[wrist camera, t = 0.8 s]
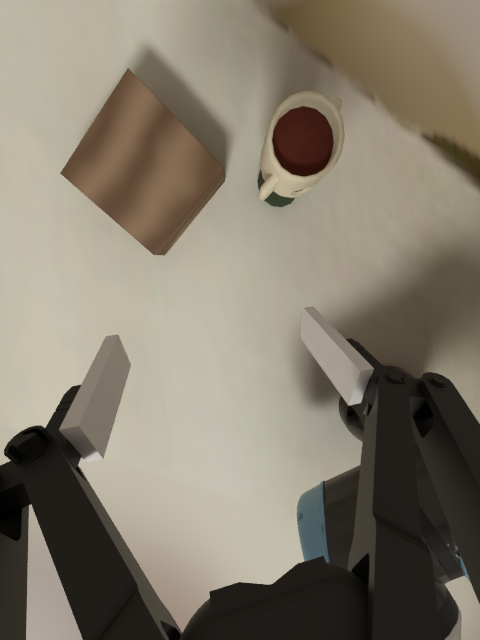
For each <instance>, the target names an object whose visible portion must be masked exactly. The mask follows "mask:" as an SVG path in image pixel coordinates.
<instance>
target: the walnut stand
mask: <svg viewBox="0 0 480 640" xmlns="http://www.w3.org/2000/svg"><path fill="white" fill-rule="evenodd" d="M60 174H62V175H63V176H64V177H65V178H66V179H67V180H69V181H70V182H71V183H72V184H73V185H74V186H75V187H77V188H78V189H79V190H80V191H81V192H82V193H83V194H85V195H86V196H87V197H88V198H89V199H90V200H91V201H93V202H94V203H95V204H96V205H97V206H98V207H99V208H101V209H102V210H103V211H104V212H105V213H106V214H108V215H109V216H110V217H111V218H112V219H113V220H114V221H116V222H117V223H118V224H119V225H120V226H121V227H122V228H124V229H125V230H126V231H127V232H128V233H129V234H130V235H132V236H133V237H134V238H135V239H136V240H137V241H139V242H140V243H141V244H142V245H143V246H144V247H145V248H147V249H148V250H149V251H150V252H151V253H152V254H153V255H165V254H166V253H167V252H168V251H169V250H170V248H171V247H172V246H173V245H174V243H175V242H176V241H177V240H178V238H179V237H180V236H181V235H182V233H183V232H184V231H185V230H186V228H187V227H188V226H189V225H190V224H191V222H192V221H193V220H194V219H195V217H196V216H197V215H198V214H199V212H200V211H201V210H202V209H203V207H204V206H205V205H206V204H207V202H208V201H209V200H210V199H211V197H212V196H213V195H214V194H215V193H216V191H217V190H218V189H219V188H220V186H221V185H222V184H223V183H224V181H225V177H224V169H223V166H222V165H221V164H220V163H219V162H218V161H217V160H216V159H215V158H214V157H213V156H212V155H211V154H210V153H209V152H208V151H207V150H206V149H205V148H204V147H203V145H202V144H201V143H200V142H199V141H198V140H197V139H196V138H195V137H194V136H193V135H192V134H191V133H190V132H189V131H188V130H187V129H186V128H185V127H184V126H183V125H182V124H181V123H180V122H179V120H178V119H177V118H176V117H175V116H174V115H173V114H172V113H171V112H170V111H169V110H168V109H167V108H166V107H165V106H164V105H163V104H162V103H161V102H160V101H159V100H158V99H157V98H156V97H155V95H154V94H153V93H152V92H151V91H150V90H149V89H148V88H147V87H146V86H145V85H144V84H143V83H142V82H141V81H140V80H139V79H138V78H137V77H136V76H135V75H134V74H133V73H132V72H131V70H130V69H129V68H128V69H127V71H126V72H125V74H124V75H123V77H122V78H121V80H120V82H119V83H118V85H117V86H116V88H115V89H114V91H113V92H112V94H111V95H110V97H109V99H108V100H107V102H106V103H105V105H104V106H103V108H102V109H101V111H100V113H99V114H98V116H97V117H96V119H95V120H94V122H93V123H92V125H91V126H90V128H89V130H88V131H87V133H86V134H85V136H84V137H83V139H82V140H81V142H80V144H79V145H78V147H77V148H76V150H75V151H74V153H73V154H72V156H71V157H70V159H69V161H68V162H67V164H66V165H65V167H64V168H63V170H62V171H61V173H60Z"/></svg>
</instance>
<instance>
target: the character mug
mask: <svg viewBox="0 0 480 640" xmlns="http://www.w3.org/2000/svg"><path fill="white" fill-rule="evenodd" d="M341 106H342V101H341V99H336V100H334V101H332V100H331V99H329V98H328V97H327V96H326V95H324V94H323V93H319V92H314V91H310V90H306V91H302V92H298V93H294V94H291V95H290V96H289V97H288V98H287V99H285V100H284V101H283V102H282V103H281V104H279V105H278V107H277V109H276V111H275V113H274V115H273V117H272V118H271V120H270V122H269V125H268V129H267V133H266V137H265V141H264V145H263V149H262V154H261V161H260V167H261V171H260V174H259V178H258V187H259V193H258V198H259V200H261V201H263V200H265V201H266V202H267V203H269V204H270V205H272V206H277V207H283V206H285V205H288V204H291V202H292V201H293V200H294V198H295V197H297V196H301V195H303V194H304V193H306V192H307V191H309V190H310V189H311V188H312V187H314V186H315V185H316V184H317V183H318V182H319V181H320V180H321V179H322V178H323V177H324V176H325V175H326V174H327V173H328V172H329V171H330V170H331V169H332V168H333V167H334V165H335V164H336V163H337V161H338V159H339V156H340V154H341V152H342V147H343V142H344V137H345V135H344V126H343V118H342V116H341V114H340V112H339V111H340V109H341Z"/></svg>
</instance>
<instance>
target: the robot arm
mask: <svg viewBox="0 0 480 640" xmlns="http://www.w3.org/2000/svg"><path fill="white" fill-rule="evenodd" d="M300 338H301V340H302V341H303V342H304V344H305V345H306V347H307V348H308V349H309V351H310V352H311V354H312V355H313V356H314V358H315V359H316V361H317V362H318V364H319V365H320V366H321V368H322V369H323V371H324V372H325V373H326V375H327V376H328V378H329V379H330V380H331V382H332V383H333V385H334V386H335V387H336V389H337V390H338V392H339V393H340V394H341V398H340V402H339V412H340V416H341V418H342V420H343V422H344V424H345V425H346V427H347V428H348V429H349V431H350V432H351V433H352V434H353V435H354V436H355V437H356V438H358V439H359V440H360V441H362V442H363V445H362V455H361V465H359V466H357V467H355V468H353V469H351V470H349V471H347V472H344V473H342V474H340V475H338V476H336V477H334V478H332V479H329V480H327V481H322V482H321V483H320V485H318V486H316V487H314V488H312V489H310V490H308V491H307V492H305V493H304V494H302V496H301V497H300V499H299V501H298V506H297V523H298V531H299V537H300V543H301V548H302V552H303V556H304V561H305V562H302V563H299V564H297V565H295V566H294V567H293V568H292V569H291V570H289V571H288V572H287V573H286V574H284V575H283V576H282V577H281V578H279V579H278V580H277V581H276V582H275V583H274V584H271V585H264V584H253V583H241V582H239V583H236V584H232V585H229V586H226V587H223V588H220V589H217V590H213V591H210V599H209V600H208V601H206V602H205V603H204V604H203V605H202V606H201V607H200V608H199V609H198V610H197V612H196V613H195V614H194V615H193V617H192V618H191V620H190V621H189V623H188V624H187V626H186V628H185V629H184V632H183V633H182V632H181V630H180V628H179V627H178V625H177V624H176V622H175V620H174V619H173V617H172V616H171V614H170V613H169V611H168V610H167V608H166V607H165V606H164V604H163V603H162V602H161V601H160V599H159V597H158V596H157V594H156V592H155V591H154V589H153V588H152V586H151V584H150V583H149V581H148V579H147V578H146V576H145V574H144V573H143V571H142V570H141V568H140V566H139V564H138V563H137V561H136V560H135V558H134V556H133V555H132V553H131V552H130V550H129V548H128V546H127V545H126V543H125V542H124V540H123V538H122V536H121V535H120V533H119V531H118V530H117V528H116V526H115V525H114V523H113V522H112V520H111V518H110V517H109V515H108V513H107V512H106V510H105V508H104V507H103V505H102V503H101V502H100V500H99V498H98V497H97V495H96V494H95V492H94V490H93V489H92V487H91V485H90V484H89V482H88V481H87V479H86V477H85V475H84V474H83V472H82V470H81V469H80V467H78V463H79V461H80V458H81V457H82V458H83V460H84V461H85V462H86V463H87V462H92V461H96V460H101V459H103V458H104V454H105V451H106V448H107V444H108V441H109V437H110V434H111V431H112V427H113V424H114V421H115V417H116V414H117V410H118V407H119V404H120V400H121V397H122V393H123V390H124V387H125V383H126V380H127V376H128V373H129V370H130V366H131V364H130V362H129V359H128V357H127V354H126V352H125V350H124V347H123V345H122V342H121V340H120V338H119V335H112V336H106V337H105V339H104V341H103V343H102V345H101V347H100V349H99V351H98V353H97V355H96V357H95V359H94V361H93V363H92V365H91V367H90V369H89V371H88V373H87V375H86V377H85V379H84V381H83V383H82V385H77V386H72V387H71V388H70V389H69V390H68V391H67V392H66V393H65V394H64V396H63V398H62V400H61V401H60V405H58V407H57V408H56V412H54V414H53V416H52V417H51V419H50V421H49V423H48V424H47V426H46V428H44V427H42V426H33V427H29V428H27V429H25V430H23V431H21V432H20V433H18V434H17V435H16V436H14V437H13V438H12V439H11V441H9V442H8V444H7V446H6V448H5V449H4V455H5V456H7V457H8V458H9V459H10V460H11V461H10V462H7V463H5V464H3V465H1V466H0V640H26V608H27V562H28V517H29V505H30V504H32V506H33V509H34V512H35V515H36V517H37V520H38V523H39V525H40V528H41V530H42V533H43V536H44V538H45V541H46V544H47V546H48V549H49V552H50V554H51V557H52V559H53V562H54V564H55V567H56V570H57V573H58V575H59V578H60V580H61V583H62V586H63V588H64V591H65V593H66V596H67V599H68V601H69V604H70V606H71V609H72V612H73V615H74V617H75V620H76V622H77V625H78V628H79V630H80V633H81V635H82V638H83V640H461V612H460V609H459V607H458V605H457V604H456V602H455V600H454V599H453V597H452V596H451V594H450V592H449V591H448V589H447V587H446V586H445V583H447V582H449V581H451V580H453V579H456V578H459V577H461V576H465V575H466V577H467V578H468V580H469V581H470V582H471V584H472V586H473V589H474V591H475V594H476V596H477V599H478V601H479V603H480V424H479V423H478V421H477V420H476V418H475V416H474V415H473V413H472V412H471V410H470V409H469V407H468V406H467V404H466V403H465V401H464V400H463V398H462V397H461V395H460V394H459V392H458V391H457V389H456V388H455V386H454V385H453V383H452V382H451V381H450V380H449V379H447V378H446V377H444V376H442V375H440V374H437V373H432V372H427V373H424V374H423V375H422V377H421V379H416V378H415V377H414V376H412V375H411V374H409V373H407V372H406V371H404V370H402V369H400V368H397V367H392V366H382V365H381V364H380V363H379V362H378V361H377V360H376V359H375V358H374V357H373V356H372V355H371V354H369V352H368V351H367V350H366V349H364V347H363V346H361V345H360V344H359V343H358V342H356V341H354V340H353V339H351V338H350V339H345V338H344V337H343V336H342V335H341V334H340V333H339V332H338V331H337V330H336V329H335V328H334V327H333V326H332V325H331V324H330V323H329V322H328V321H327V320H326V319H325V318H324V317H323V316H322V315H321V314H320V313H319V312H318V311H317V310H316V309H315V308H314V307H307V308H304V309H303V317H302V324H301V332H300Z"/></svg>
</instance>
